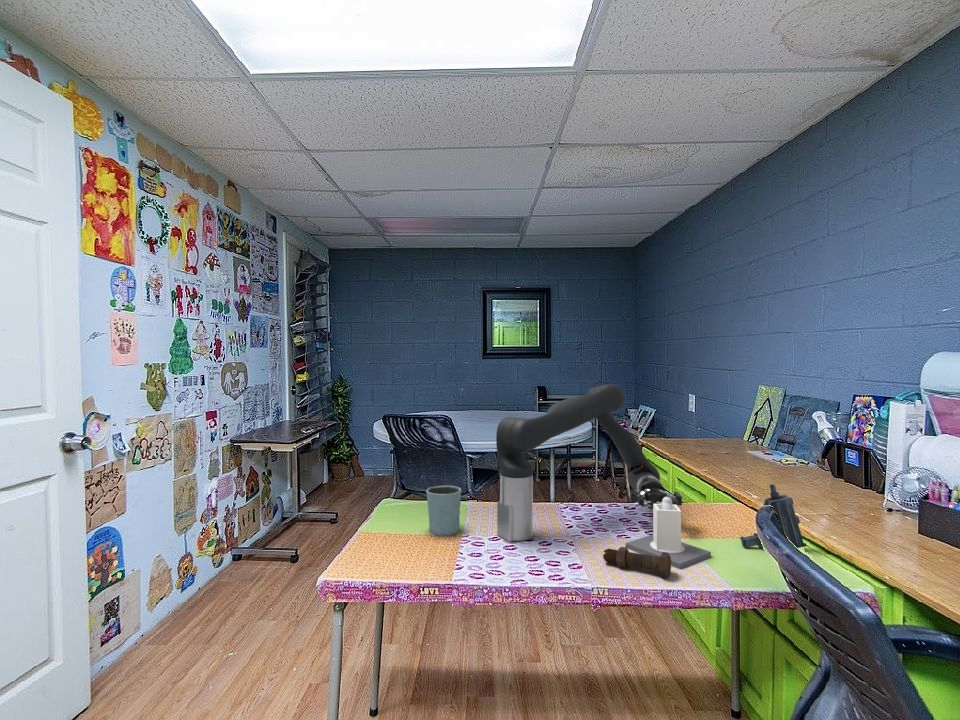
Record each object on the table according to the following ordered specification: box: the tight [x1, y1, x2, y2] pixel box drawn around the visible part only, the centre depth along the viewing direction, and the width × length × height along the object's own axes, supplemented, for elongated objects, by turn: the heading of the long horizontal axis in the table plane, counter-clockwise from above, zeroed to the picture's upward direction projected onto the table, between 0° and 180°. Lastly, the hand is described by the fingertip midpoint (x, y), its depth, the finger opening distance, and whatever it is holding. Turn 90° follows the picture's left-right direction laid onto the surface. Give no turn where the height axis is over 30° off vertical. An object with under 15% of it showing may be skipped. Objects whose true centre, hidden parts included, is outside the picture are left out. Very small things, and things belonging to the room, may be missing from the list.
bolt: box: [602, 546, 672, 580], centre depth 117 cm, size 6×5×15 cm
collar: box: [652, 503, 682, 551], centre depth 127 cm, size 6×6×10 cm
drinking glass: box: [425, 485, 462, 537], centre depth 143 cm, size 10×10×12 cm
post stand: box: [624, 497, 712, 570], centre depth 127 cm, size 13×16×14 cm
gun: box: [739, 483, 808, 549], centre depth 129 cm, size 3×17×15 cm
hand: (658, 504), depth 138 cm, fingers open, 8 cm apart
